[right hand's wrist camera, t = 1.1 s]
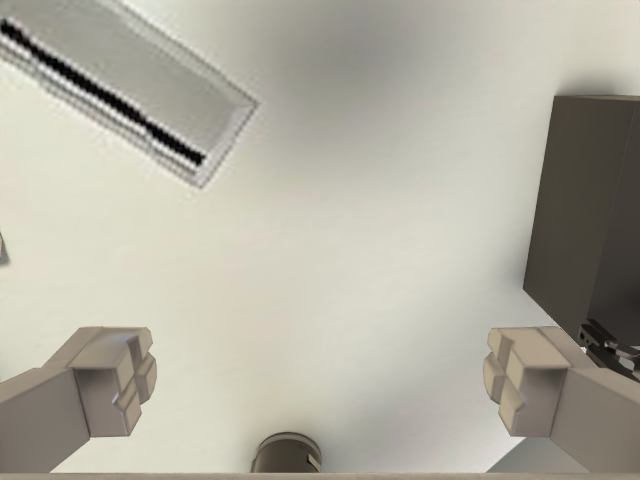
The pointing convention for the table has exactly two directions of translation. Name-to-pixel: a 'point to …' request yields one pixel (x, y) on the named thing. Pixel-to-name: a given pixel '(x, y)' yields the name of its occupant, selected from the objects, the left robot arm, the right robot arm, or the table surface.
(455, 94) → the table surface
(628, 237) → the box
